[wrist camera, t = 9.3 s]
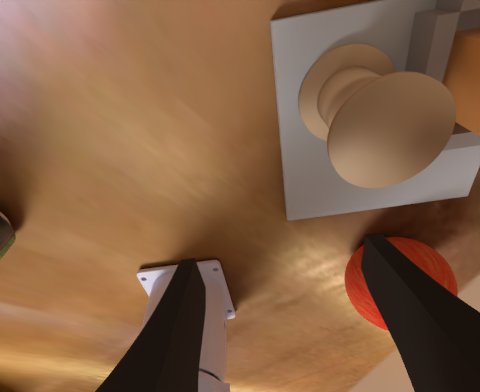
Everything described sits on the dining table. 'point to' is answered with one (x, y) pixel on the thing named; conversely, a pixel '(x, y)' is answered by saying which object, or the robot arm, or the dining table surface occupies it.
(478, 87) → the block
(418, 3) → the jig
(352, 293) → the apple
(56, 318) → the dining table surface
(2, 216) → the beverage can
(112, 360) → the dining table surface
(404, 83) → the knob
